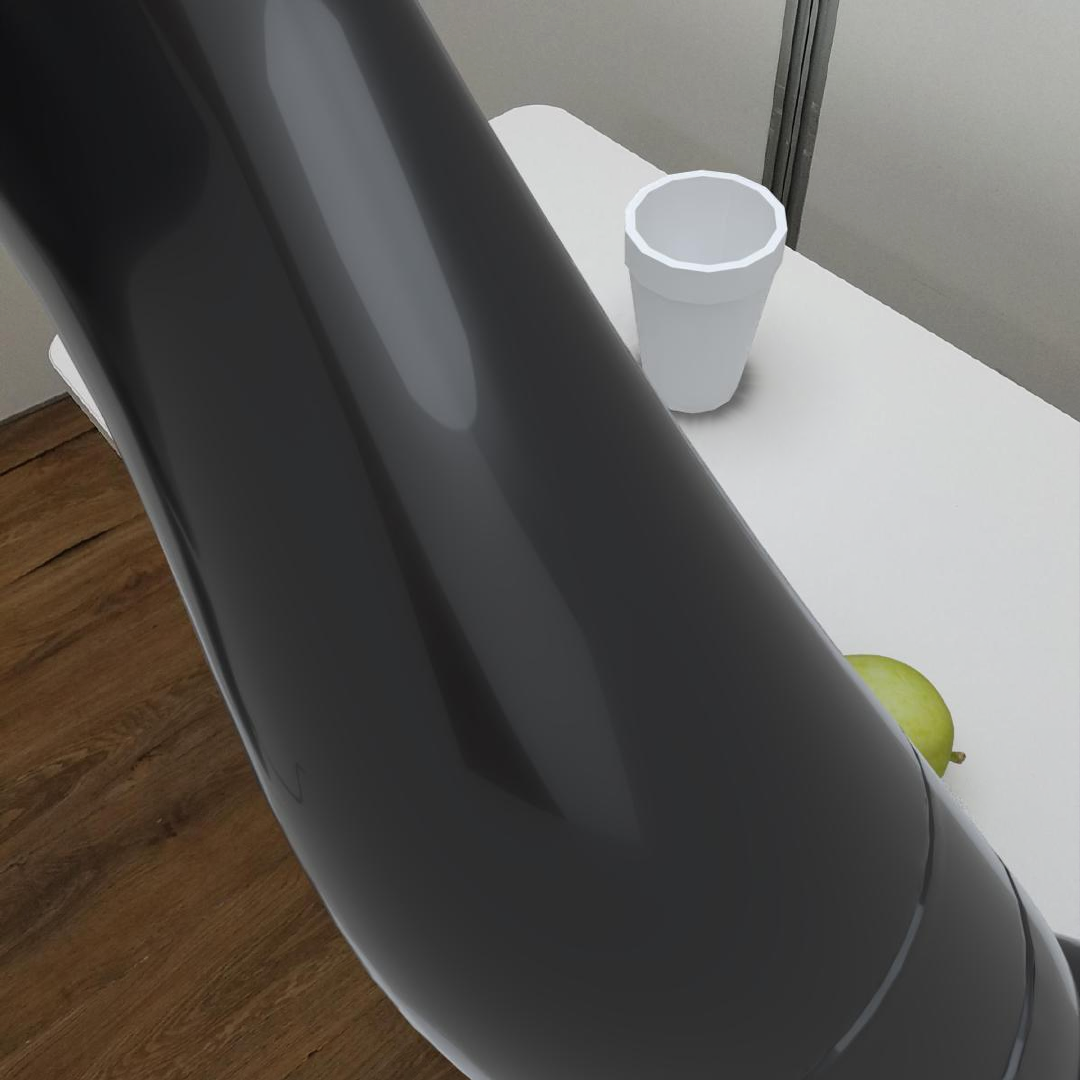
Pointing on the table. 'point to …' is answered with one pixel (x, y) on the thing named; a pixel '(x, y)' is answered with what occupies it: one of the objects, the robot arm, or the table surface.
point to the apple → (912, 706)
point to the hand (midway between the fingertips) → (586, 737)
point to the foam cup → (700, 280)
